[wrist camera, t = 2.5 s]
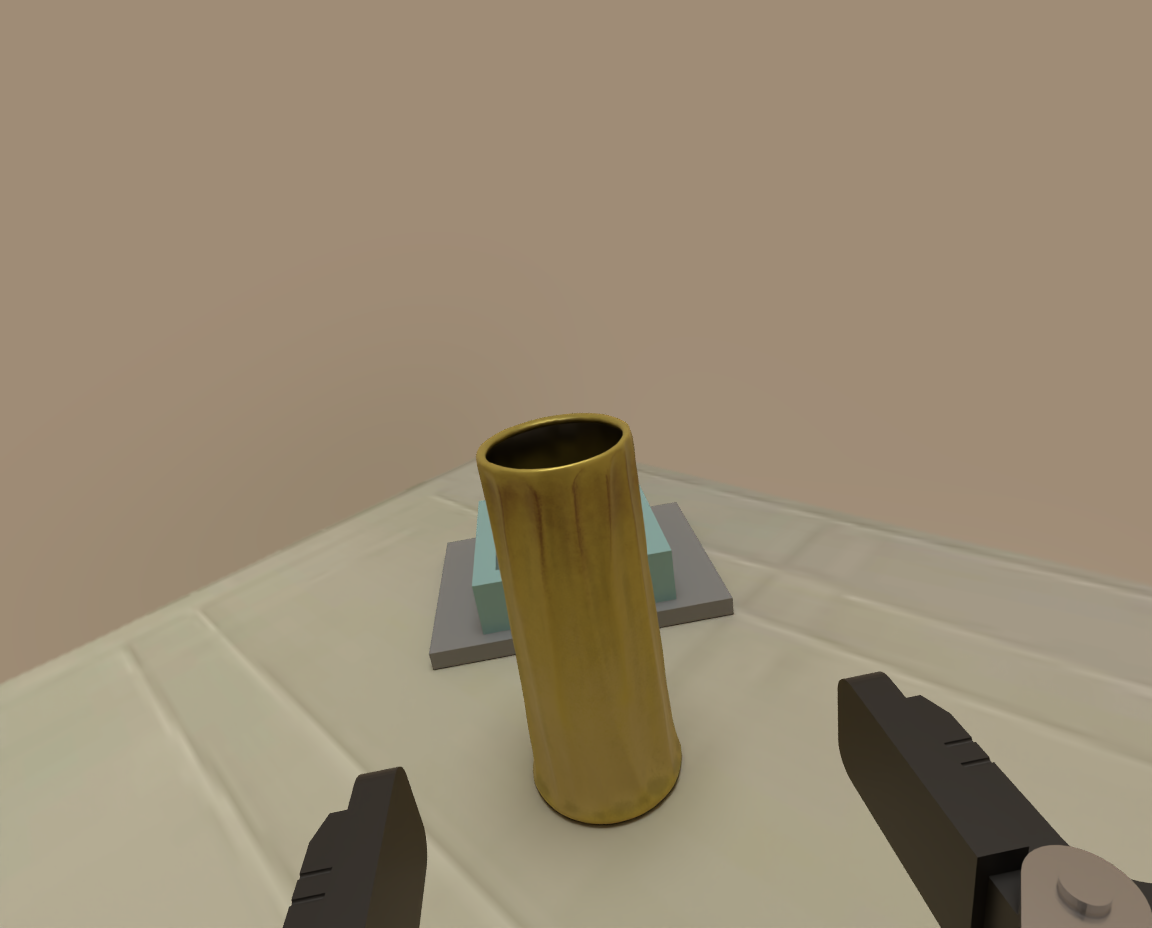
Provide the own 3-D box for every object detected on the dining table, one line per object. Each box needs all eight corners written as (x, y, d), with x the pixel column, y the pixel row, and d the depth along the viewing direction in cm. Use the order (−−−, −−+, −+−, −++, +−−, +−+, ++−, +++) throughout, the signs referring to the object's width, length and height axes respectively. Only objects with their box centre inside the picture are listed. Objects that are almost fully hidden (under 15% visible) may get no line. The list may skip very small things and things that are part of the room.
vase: (672, 700, 30) (638, 399, 24) (692, 820, 24) (654, 462, 18) (539, 714, 30) (476, 421, 25) (528, 835, 24) (443, 489, 19)
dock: (433, 669, 34) (415, 605, 32) (450, 555, 45) (437, 503, 44) (733, 613, 35) (729, 548, 33) (677, 514, 46) (672, 462, 44)
